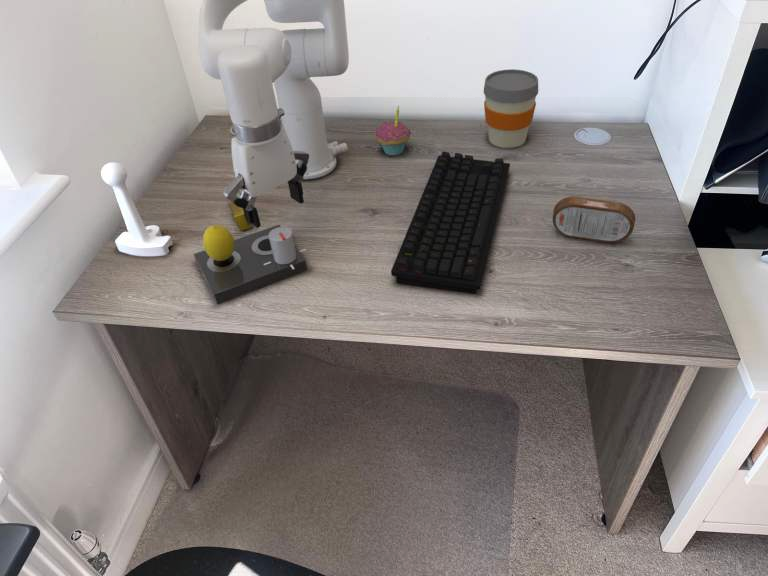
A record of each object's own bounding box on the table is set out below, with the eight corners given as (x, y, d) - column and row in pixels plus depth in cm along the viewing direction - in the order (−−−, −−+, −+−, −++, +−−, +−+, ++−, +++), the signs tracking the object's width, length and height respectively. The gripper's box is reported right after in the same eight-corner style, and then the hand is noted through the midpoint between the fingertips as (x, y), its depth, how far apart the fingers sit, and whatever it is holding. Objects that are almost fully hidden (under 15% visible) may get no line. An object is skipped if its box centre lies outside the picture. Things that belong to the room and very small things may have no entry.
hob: (287, 231, 128) (285, 221, 127) (316, 271, 118) (314, 260, 116) (196, 263, 122) (193, 253, 120) (219, 308, 112) (215, 297, 110)
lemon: (231, 270, 116) (221, 236, 110) (204, 267, 117) (193, 233, 111) (242, 252, 120) (233, 218, 114) (216, 250, 121) (205, 216, 115)
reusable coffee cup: (503, 122, 158) (507, 64, 149) (543, 137, 151) (550, 78, 141) (470, 140, 152) (472, 81, 143) (511, 157, 145) (516, 96, 135)
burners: (277, 231, 124) (277, 231, 124) (289, 248, 120) (289, 247, 120) (203, 257, 119) (202, 257, 119) (212, 275, 115) (212, 275, 115)
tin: (630, 238, 119) (639, 202, 114) (629, 248, 117) (639, 211, 112) (551, 227, 124) (556, 191, 118) (549, 236, 121) (554, 200, 116)
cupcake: (416, 145, 152) (414, 99, 144) (402, 162, 147) (400, 115, 139) (384, 140, 155) (381, 94, 147) (370, 156, 150) (365, 110, 142)
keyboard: (480, 297, 110) (481, 276, 106) (391, 285, 113) (389, 264, 110) (509, 174, 140) (511, 154, 136) (438, 167, 144) (438, 148, 140)
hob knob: (270, 254, 119) (264, 230, 115) (291, 247, 120) (286, 222, 116) (278, 267, 116) (272, 242, 112) (300, 259, 117) (295, 234, 113)
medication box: (231, 203, 138) (225, 188, 135) (243, 199, 138) (237, 184, 136) (240, 231, 129) (233, 216, 126) (252, 227, 129) (246, 212, 127)
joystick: (115, 253, 127) (76, 168, 113) (134, 231, 132) (99, 147, 119) (163, 258, 124) (130, 171, 111) (181, 236, 130) (151, 150, 116)
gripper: (285, 100, 106) (301, 184, 118) (198, 139, 98) (224, 225, 110) (312, 113, 102) (326, 199, 114) (224, 155, 94) (248, 243, 105)
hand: (276, 212), depth 112 cm, fingers open, 9 cm apart
